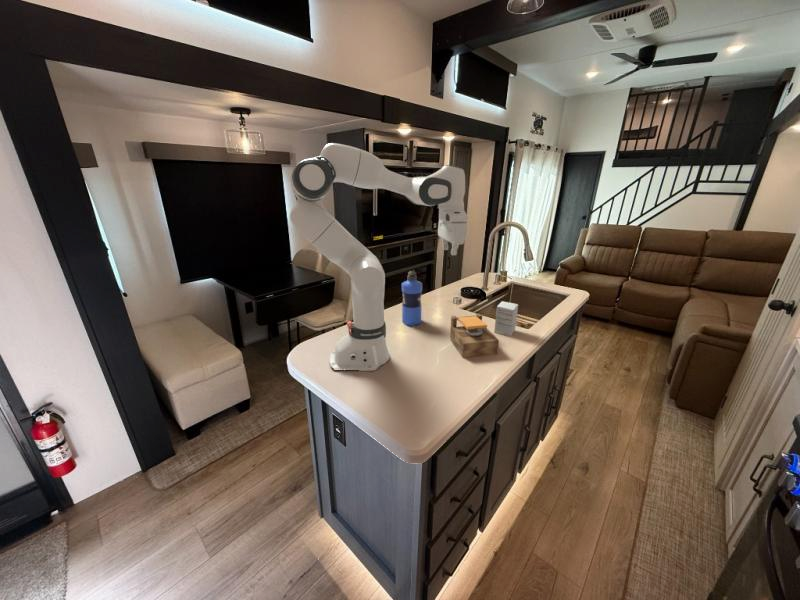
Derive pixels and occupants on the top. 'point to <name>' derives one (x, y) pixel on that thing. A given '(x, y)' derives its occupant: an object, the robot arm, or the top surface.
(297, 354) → the top surface
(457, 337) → the block
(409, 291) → the water bottle
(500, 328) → the supplement box
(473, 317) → the orange rectangular panel
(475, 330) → the grey light bulb
